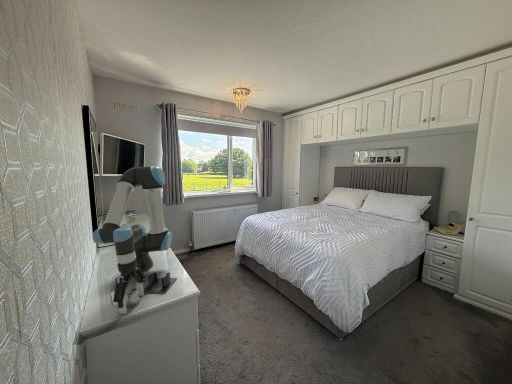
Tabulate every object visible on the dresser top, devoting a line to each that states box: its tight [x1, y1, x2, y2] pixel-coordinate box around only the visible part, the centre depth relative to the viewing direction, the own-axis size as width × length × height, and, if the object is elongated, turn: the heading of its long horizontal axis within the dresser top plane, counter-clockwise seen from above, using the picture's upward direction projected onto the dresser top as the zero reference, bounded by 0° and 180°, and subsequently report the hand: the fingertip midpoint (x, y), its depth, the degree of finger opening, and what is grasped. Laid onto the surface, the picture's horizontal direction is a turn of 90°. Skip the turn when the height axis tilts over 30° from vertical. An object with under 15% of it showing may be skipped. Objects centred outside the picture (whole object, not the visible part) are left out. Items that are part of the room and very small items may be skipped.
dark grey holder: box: [143, 272, 178, 294], centre depth 116 cm, size 13×13×6 cm
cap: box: [124, 288, 141, 309], centre depth 101 cm, size 6×6×6 cm
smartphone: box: [109, 288, 128, 307], centre depth 108 cm, size 7×1×15 cm
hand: (132, 303), depth 101 cm, fingers open, 12 cm apart
